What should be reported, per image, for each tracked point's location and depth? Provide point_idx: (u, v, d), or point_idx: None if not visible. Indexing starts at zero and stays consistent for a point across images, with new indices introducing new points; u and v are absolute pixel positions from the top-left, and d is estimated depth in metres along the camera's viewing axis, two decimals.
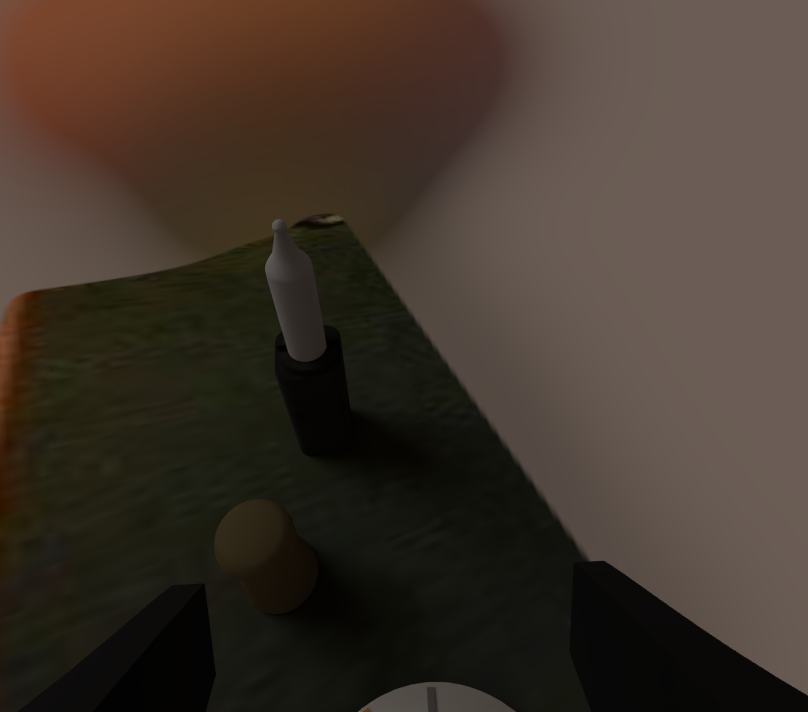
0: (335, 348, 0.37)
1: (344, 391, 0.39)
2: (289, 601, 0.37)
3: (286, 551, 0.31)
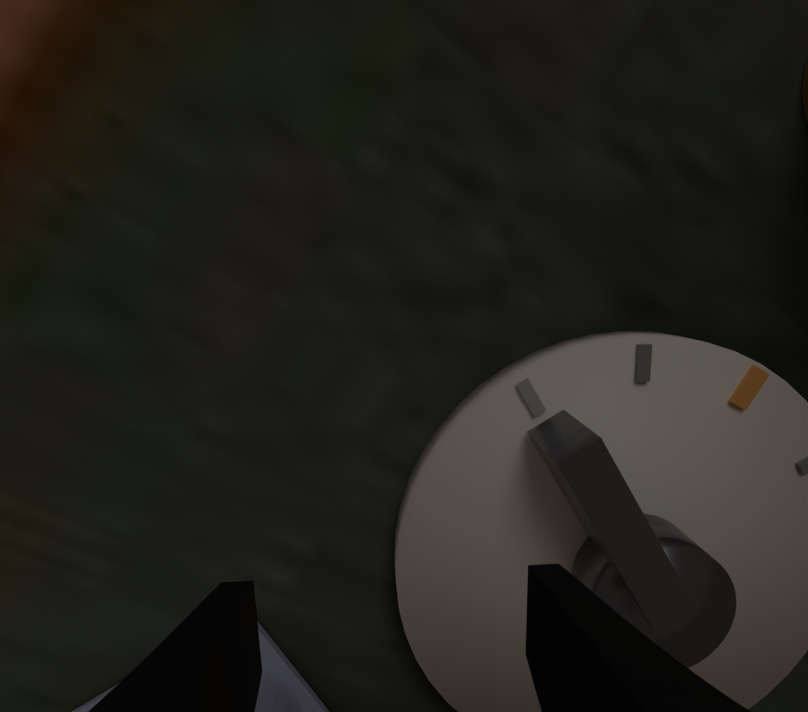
0: None
1: None
2: None
3: None
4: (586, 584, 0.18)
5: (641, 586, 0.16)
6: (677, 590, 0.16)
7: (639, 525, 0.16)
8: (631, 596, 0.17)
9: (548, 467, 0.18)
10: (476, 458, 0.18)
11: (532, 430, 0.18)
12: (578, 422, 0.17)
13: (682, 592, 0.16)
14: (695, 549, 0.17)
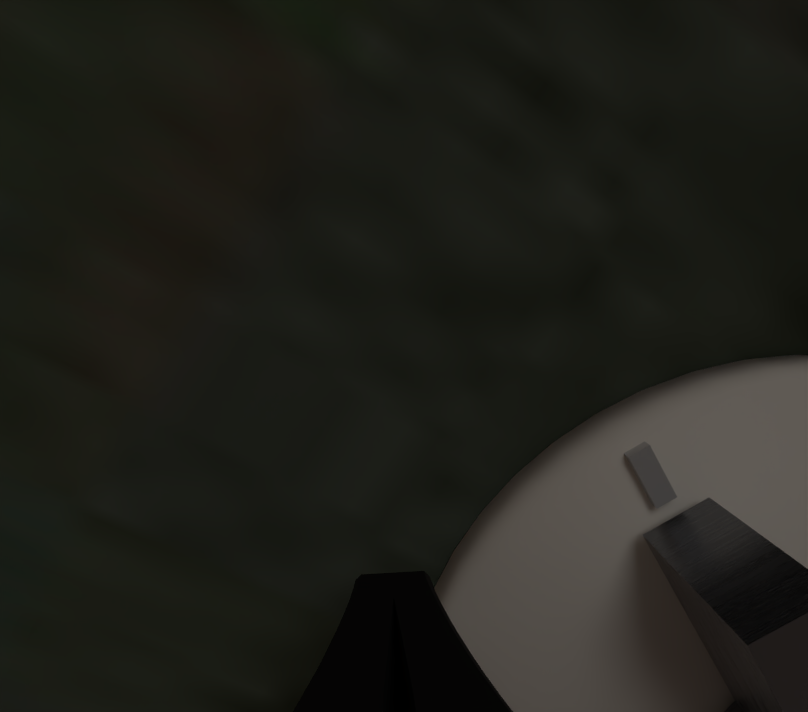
0: None
1: None
2: None
3: None
4: None
5: None
6: None
7: None
8: None
9: (678, 595, 0.10)
10: (550, 576, 0.11)
11: (654, 534, 0.10)
12: (759, 537, 0.09)
13: None
14: None
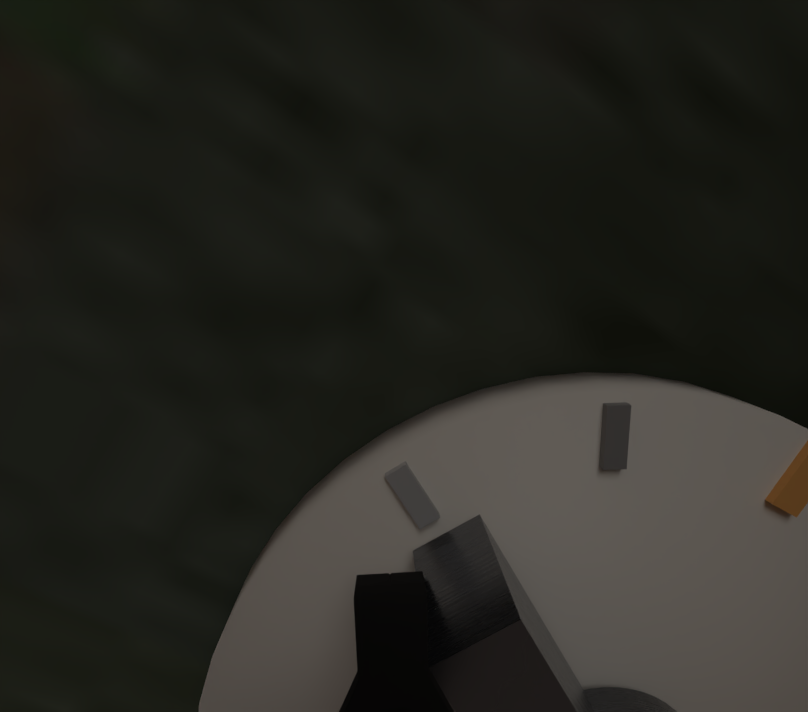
0: None
1: None
2: None
3: None
4: None
5: None
6: None
7: None
8: None
9: None
10: (321, 596, 0.11)
11: (421, 549, 0.10)
12: (493, 557, 0.09)
13: None
14: None
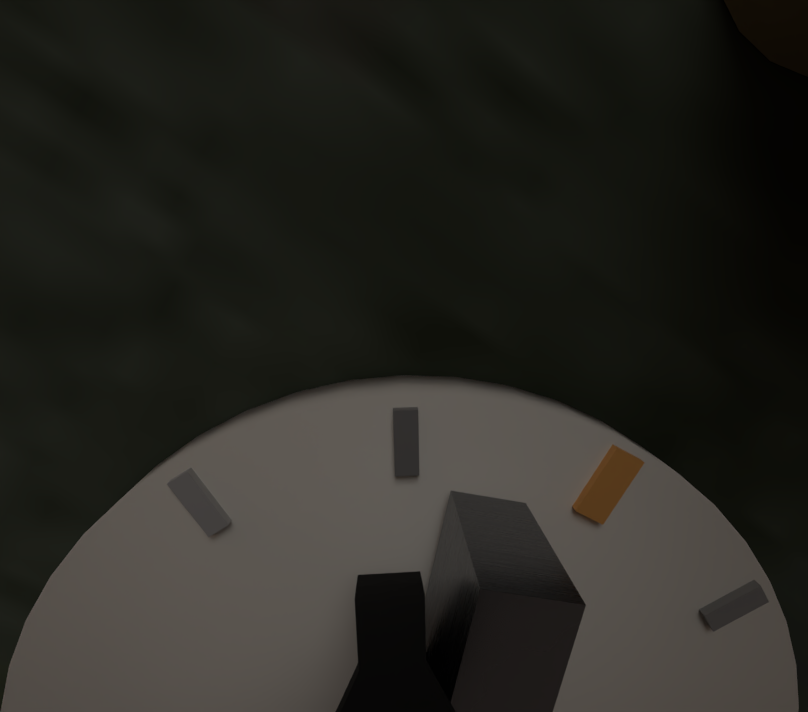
0: None
1: None
2: None
3: None
4: None
5: None
6: None
7: None
8: None
9: (435, 565, 0.10)
10: (117, 605, 0.10)
11: (461, 495, 0.10)
12: (546, 542, 0.09)
13: None
14: None
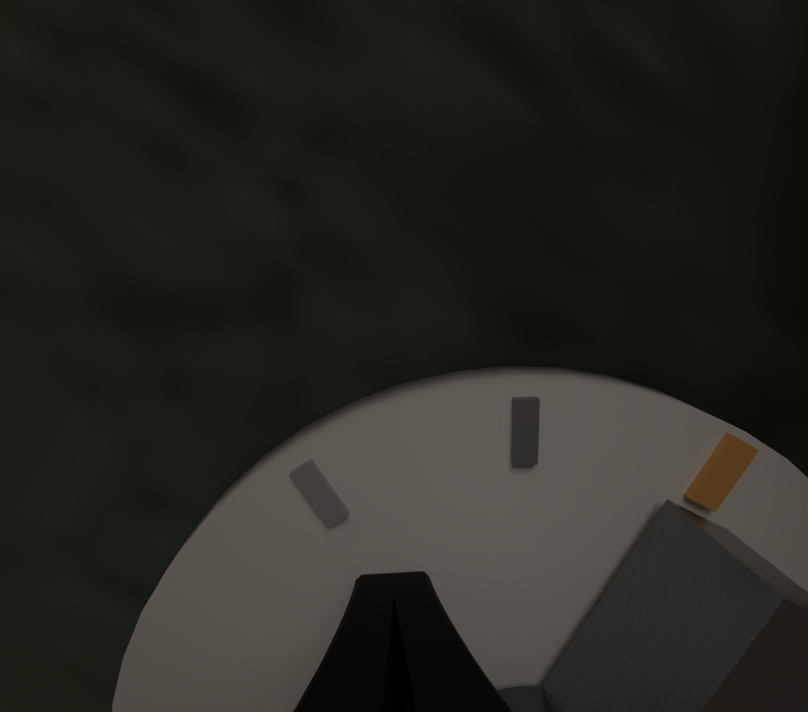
0: None
1: None
2: None
3: None
4: None
5: None
6: None
7: None
8: None
9: (632, 566, 0.10)
10: (232, 596, 0.10)
11: (679, 505, 0.10)
12: (780, 571, 0.09)
13: None
14: None
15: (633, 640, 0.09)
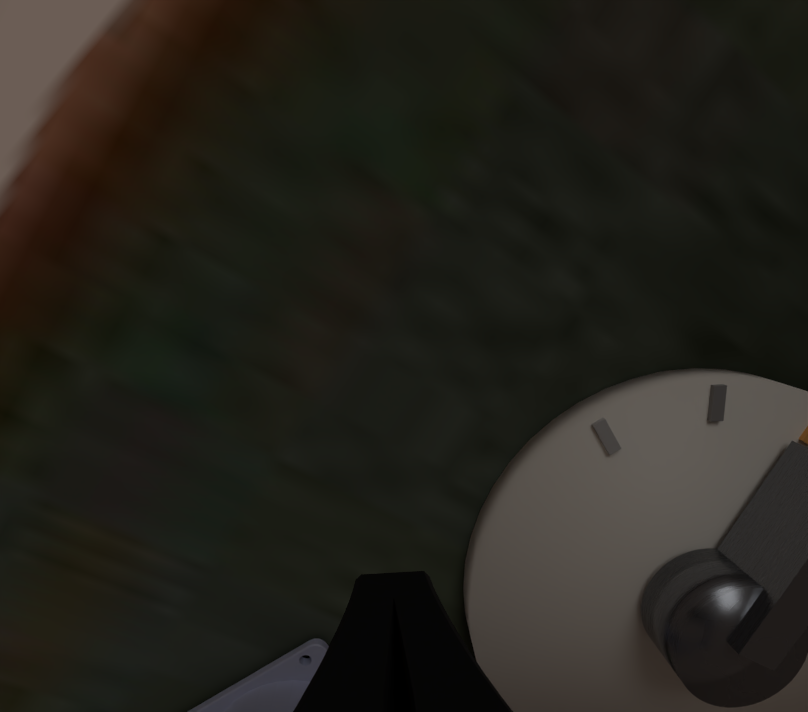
0: None
1: None
2: None
3: None
4: (705, 572, 0.18)
5: (782, 610, 0.17)
6: (789, 640, 0.17)
7: None
8: (749, 610, 0.17)
9: (772, 477, 0.19)
10: (551, 495, 0.19)
11: (798, 443, 0.19)
12: None
13: (789, 645, 0.17)
14: None
15: (781, 511, 0.18)
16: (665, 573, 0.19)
